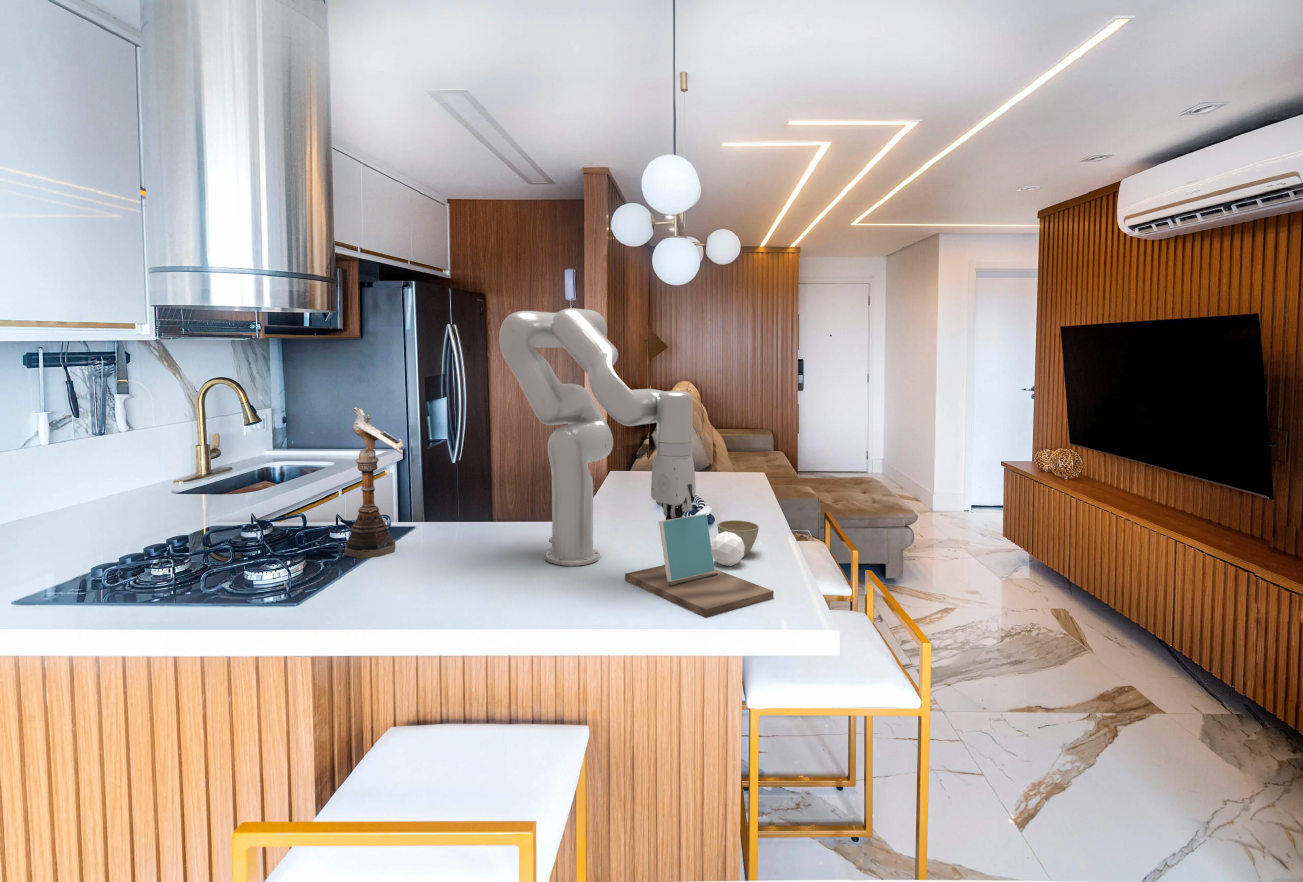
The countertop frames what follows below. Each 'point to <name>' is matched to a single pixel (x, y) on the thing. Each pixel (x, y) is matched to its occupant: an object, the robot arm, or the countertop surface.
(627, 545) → the countertop surface
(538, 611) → the countertop surface
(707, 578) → the board
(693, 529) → the tile
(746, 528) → the tan round bowl
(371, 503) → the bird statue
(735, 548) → the ball
